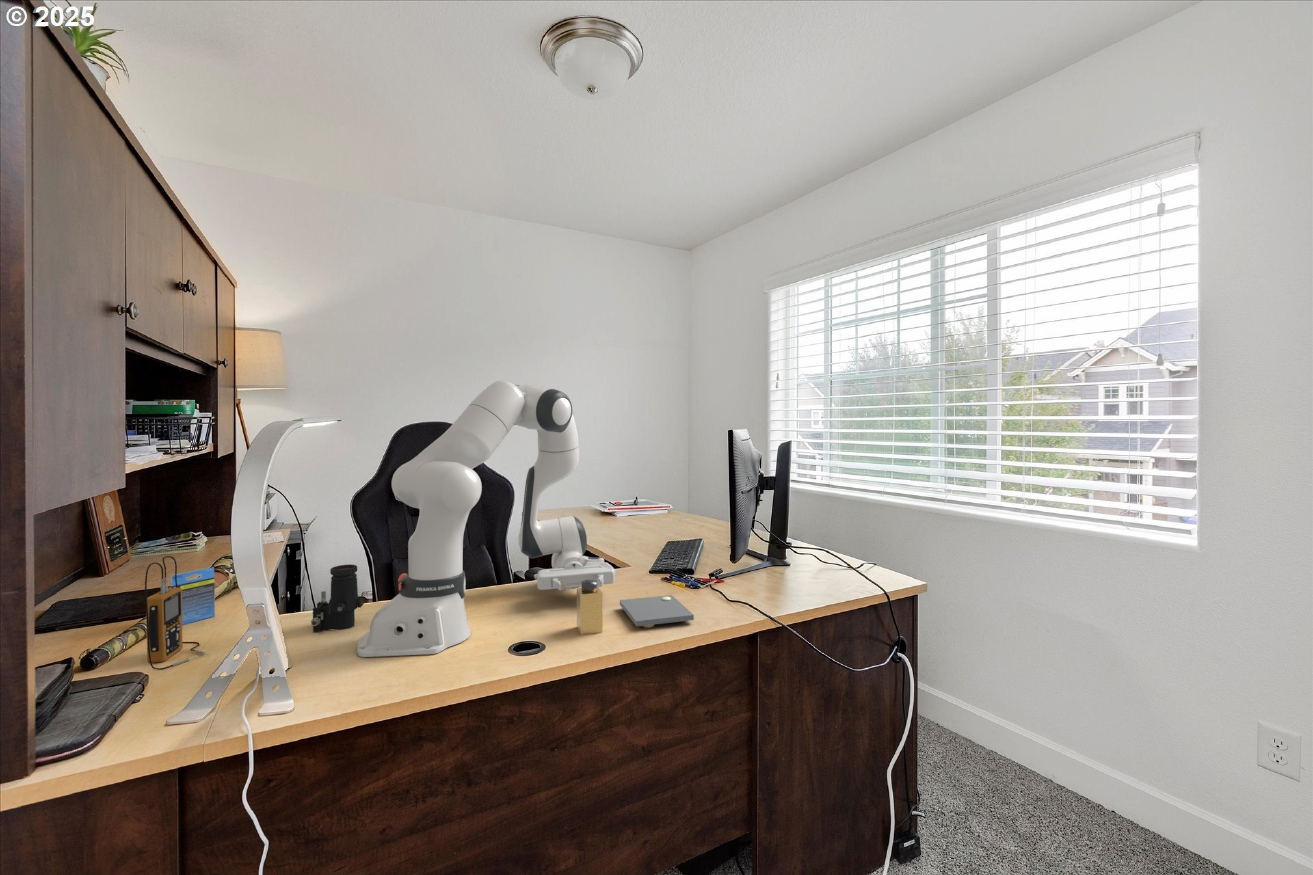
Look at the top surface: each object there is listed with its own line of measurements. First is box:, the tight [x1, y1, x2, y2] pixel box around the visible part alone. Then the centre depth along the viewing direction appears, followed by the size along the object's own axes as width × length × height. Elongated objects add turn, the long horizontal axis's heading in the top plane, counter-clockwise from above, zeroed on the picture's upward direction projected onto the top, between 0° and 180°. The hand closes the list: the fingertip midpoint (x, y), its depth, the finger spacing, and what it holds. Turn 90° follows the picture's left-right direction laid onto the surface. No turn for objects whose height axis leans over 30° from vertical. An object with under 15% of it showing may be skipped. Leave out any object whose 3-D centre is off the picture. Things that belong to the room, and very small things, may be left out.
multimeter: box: [144, 555, 210, 671], centre depth 114 cm, size 15×10×20 cm
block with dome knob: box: [576, 580, 604, 635], centre depth 127 cm, size 5×5×11 cm
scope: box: [310, 564, 364, 634], centre depth 129 cm, size 8×14×10 cm
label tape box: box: [168, 566, 216, 626], centre depth 133 cm, size 9×4×12 cm, turn 154°
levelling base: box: [619, 594, 695, 628], centre depth 136 cm, size 14×16×2 cm
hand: (580, 585), depth 139 cm, fingers open, 8 cm apart
